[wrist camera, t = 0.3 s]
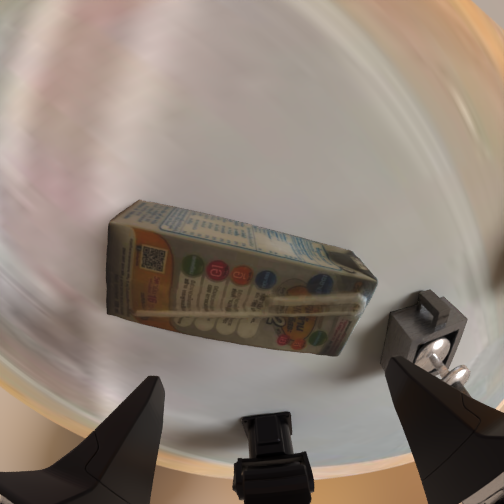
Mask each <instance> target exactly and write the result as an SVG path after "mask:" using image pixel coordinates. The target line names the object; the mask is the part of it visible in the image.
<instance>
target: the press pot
mask: <svg viewBox="0 0 504 504" xmlns="http://www.w3.org/2000/svg"><path fill="white" fill-rule="evenodd" d="M466 323H467V318H466V317H465V316H464V315H463V314H462V313H461V312H460V311H459V310H458V309H457V308H456V307H454V306H453V305H452V304H451V303H450V302H449V301H448V300H447V299H446V298H445V297H441V298H439V297H438V296H437V295H436V294H435V293H434V292H433V291H432V290H426V291H423V292H419V298H418V303H417V305H415V306H411V307H408V308H404V309H401V310H397V311H393V312H390V318H389V323H388V329H387V334H386V339H385V344H384V349H383V354H382V358H381V362H380V364H381V366H382V367H383V369H384V371H385V370H386V368H387V365H388V362H389V360H390V358H391V357H393V356H397V355H401V356H402V357H404V358H406V359H407V360H409V361H411V362H412V363H413V360H414V357H415V355H416V354H417V352H418V351H419V350H420V349H421V348H422V347H423V346H424V345H425V344H426V343H427V342H429V341H431V340H434V339H436V338H439V337H441V336H444V337H446V338H447V339H448V341H449V342H450V349H449V352H448V354H447V355H446V357H445V358H444V360H443V361H442V363H443V364H444V365H445V366H446V368H447V369H449V366H450V364H451V362H452V359H453V357H454V355H455V352H456V350H457V347H458V345H459V342H460V339H461V337H462V334H463V331H464V328H465V325H466ZM429 373H431V374H432V375H434V376H436V375H438V374H439V373H438V372H437V370H436V369H435V368H434V369H433V370H431V371H429Z"/></svg>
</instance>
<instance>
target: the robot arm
mask: <svg viewBox="0 0 504 504" xmlns="http://www.w3.org/2000/svg"><path fill="white" fill-rule="evenodd" d="M385 377H386V380H387V383H388V387H389V390H390V394H391V397H392V401H393V404H394V407H395V410H396V412H397V415H398V417H399V420H400V422H401V425H402V427H403V430H404V433H405V435H406V438H407V441H408V443H409V446H410V449H411V452H412V454H413V457H414V460H415V463H416V466H417V469H418V472H419V475H420V478H421V481H422V485H423V488H424V491H425V494H426V497H427V501H428V504H459V503H460V502H462V503H463V504H504V413H503V412H500V411H498V410H496V409H494V408H492V407H489V406H487V405H485V404H483V403H481V402H479V401H477V400H475V399H473V398H471V397H469V396H468V395H466V394H464V393H463V392H462V393H461V391H459V390H457V389H456V388H454V387H452V386H451V385H449V384H447V383H446V382H444V381H442V380H441V379H439V378H437V377H436V376H434V375H432V374H431V373H429V372H427V371H426V370H424V369H422V368H421V367H419V366H417V365H416V364H414V363H412V362H411V361H409V360H407V359H406V358H404V357H402V356H401V355H397V356H393V357H391V358H390V360H389V362H388V365H387V368H386V370H385ZM164 400H165V390H164V387H163V385H162V382H161V379H160V377H158V376H148V377H147V378H146V379H145V380H144V381H143V382H142V383H141V384H140V385H139V386H138V387H137V388H136V389H135V390H134V391H133V392H132V393H131V394H130V395H129V396H128V397H127V398H126V399H125V400H124V401H123V402H122V403H121V404H120V405H119V406H118V407H117V408H116V409H115V410H114V411H113V412H112V413H111V414H110V415H109V416H108V417H107V418H106V419H105V420H104V421H103V422H102V423H101V424H100V425H99V426H98V427H97V428H96V429H95V431H93V432H92V433H91V434H90V435H89V436H88V437H87V438H86V439H85V440H84V441H82V442H81V443H80V444H79V445H78V446H77V447H75V448H74V449H73V450H72V451H70V452H69V453H68V454H66V455H65V456H64V457H62V458H61V459H60V460H58V461H57V462H56V463H54V464H53V465H51V466H50V467H48V468H45V469H42V470H36V471H21V472H0V494H1V498H0V504H150V497H151V491H152V483H153V478H154V471H155V466H156V460H157V455H158V449H159V444H160V439H161V433H162V427H163V413H164ZM242 424H243V427H244V429H245V432H246V435H247V438H248V442H249V458H246V459H242V458H238V462H236V463H234V478H233V486H232V487H233V490H234V491H235V492H236V493H237V495H238V497H239V500H244V504H310V502H311V493H312V492H314V479H313V474H312V470H311V467H310V463H309V460H308V457H307V453H306V451H304V452H302V453H295V454H294V453H293V447H292V441H291V435H292V423H291V413H290V412H284V413H277V414H270V415H263V416H254V417H245V418H242Z"/></svg>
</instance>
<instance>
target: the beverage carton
mask: <svg viewBox="0 0 504 504" xmlns="http://www.w3.org/2000/svg"><path fill="white" fill-rule="evenodd" d="M106 284H107V297H106V305H107V314H108V315H113V316H117V317H120V318H123V319H126V320H129V321H133V322H137V323H140V324H144V325H149V326H153V327H157V328H161V329H165V330H169V331H174V332H178V333H182V334H187V335H193V336H198V337H203V338H208V339H213V340H219V341H225V342H231V343H236V344H241V345H249V346H254V347H261V348H267V349H274V350H283V351H291V352H300V353H312V354H316V355H328V356H334V357H335V356H339V354H340V353H341V351H342V350H343V348H344V346H345V345H346V343H347V341H348V339H349V337H350V335H351V334H352V332H353V330H354V328H355V327H356V325H357V323H358V321H359V319H360V318H361V316H362V314H363V312H364V310H365V308H366V306H367V305H368V303H369V301H370V300H371V298H372V296H373V294H374V292H375V289H376V287H377V284H378V280H377V278H376V277H375V276H374V275H373V274H372V273H371V272H370V271H369V269H368V268H367V267H366V266H365V265H364V264H363V262H362V261H361V260H360V259H359V258H358V257H357V256H356V255H355V254H354V253H353V252H352V251H350V250H346V249H342V248H339V247H336V246H331V245H327V244H323V243H319V242H315V241H312V240H308V239H305V238H301V237H297V236H293V235H289V234H285V233H281V232H277V231H274V230H270V229H266V228H262V227H258V226H254V225H250V224H247V223H243V222H239V221H235V220H231V219H226V218H222V217H218V216H214V215H210V214H205V213H201V212H196V211H192V210H187V209H182V208H178V207H173V206H168V205H163V204H158V203H154V202H146V201H142V200H138V201H137V202H135V203H134V204H133V205H131V206H130V207H128V208H126V209H125V210H124V211H122V212H121V213H119V214H118V215H117V216H116V217H115V218H113V219H112V220H111V221H110V223H109V226H108V245H107V262H106Z"/></svg>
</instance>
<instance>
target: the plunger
mask: <svg viewBox="0 0 504 504" xmlns="http://www.w3.org/2000/svg"><path fill="white" fill-rule="evenodd" d="M449 349H450V342H449V341H448V339H447V338H446V337H444V336H441V337H439V338H436V339H434V340H431V341H429V342H427V343H426V344H425V345H424V346H423V347H422V348H421V349H420V350H419V351H418V352H417V354H416V355H415V357H414V360H413V363H414V364H416V365H417V366H419V367H421V368H422V369H424V370H426V371H427V372H429V371H431V370H433V369H434V368H435V369H436V370H437V372H438V373H439V374H440V376H441V377H442V379H441V380H442V381H444V382H446V383H447V384H449V385H451V386H452V387H454V388H456V389H457V390H459V391H461V393H462V392H463V393H464V394H466V395H468V396H469V397H471V396H470V395H469V393H468V392H467V390H466V389H465V387H464V384H465V383H466V382H467V380H468V378H469V376H470V371H469V369H468V368H467V367H466V366H465V365H460V366H458V367H456V368H454V369H453V370H451V371H450V372H449V371H448V369H447V368H446V366H445V365H444V364H443V363H442V361H443V360H444V358H445V357H446V355H447V354H448V352H449ZM471 398H472V397H471Z"/></svg>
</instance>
